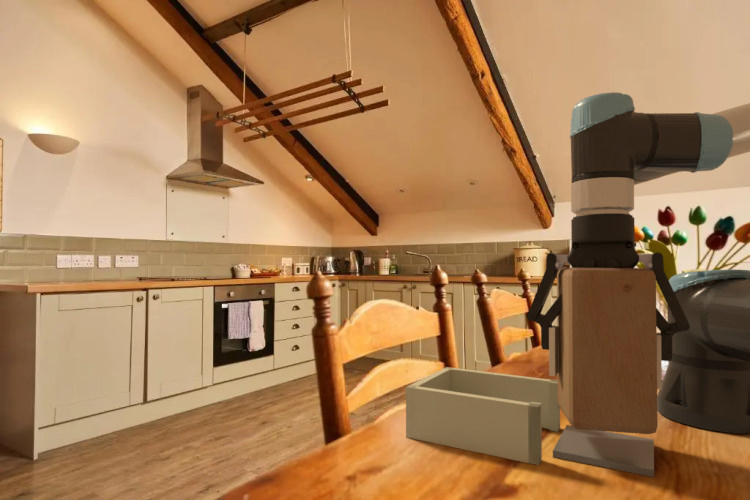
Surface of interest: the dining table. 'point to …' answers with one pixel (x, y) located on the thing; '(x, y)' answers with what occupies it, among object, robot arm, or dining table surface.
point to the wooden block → (608, 349)
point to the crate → (483, 412)
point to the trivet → (607, 450)
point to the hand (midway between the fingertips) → (603, 380)
